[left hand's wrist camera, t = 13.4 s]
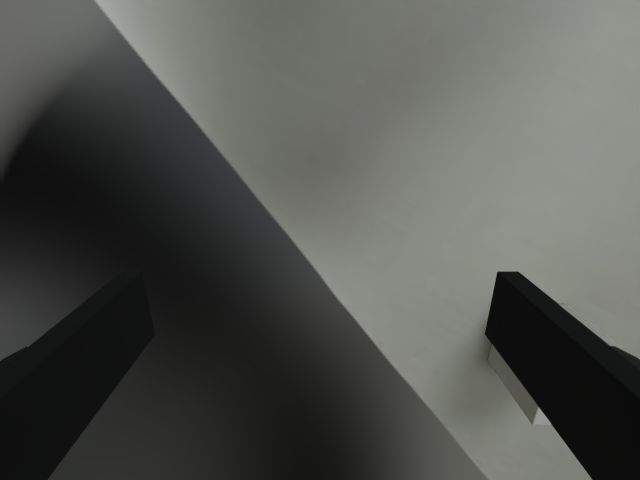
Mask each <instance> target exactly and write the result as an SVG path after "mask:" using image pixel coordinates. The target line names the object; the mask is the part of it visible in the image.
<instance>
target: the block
mask: <svg viewBox="0 0 640 480" xmlns="http://www.w3.org/2000/svg"><path fill="white" fill-rule="evenodd" d="M559 305H560V306H561V307H563V308H564V309H565V310H566V311H568V312H569V313H570V314H571V315H573V316H574V317H575V318H576V319H578V320H579V321H580V322H581V323H582V324H584V325H585V326H586V327H587V328H589V329H590V330H591V331H592V332H594V333H595V334H596V335H597V336H599V337H600V338H601V339H602V340H604V341H605V342H606V343H607V344H608V345H610V346H616V347H618V348H620V349H621V350H623V351H625V352H627V353H629V352H628V351H626V350H625V349H624V348H622V347H621V346H620V345H618V344H617V343H616V342H614V341H613V340H612V339H610V338H609V337H608V336H607V335H605V334H604V333H603V332H601V331H600V330H599V329H597V328H596V327H595V326H593V325H592V324H591V323H589V322H588V321H587V320H585V319H584V318H583V317H581V316H580V315H579V314H577V313H576V312H575V311H573V310H572V309H571V308H570V307H568V306H567V305H565V304H559ZM629 354H630V353H629ZM631 355H632V354H631ZM488 362H489V363H490V365H491V366H492V368H493V369H494V371H495V372H496V373H497V375H498V376H499V378H500V379H501V381H502V382H503V383H504V385H505V386H506V388H507V389H508V391H509V392H510V394H511V395H512V396H513V398H514V399H515V401H516V402H517V404H518V405H519V406H520V408H521V409H522V411H523V412H524V414H525V415H526V416H527V418H528V419H529V421H530V422H531V424H532V425H551V426H552V424H551V423H550V422H549V420H548V419H547V417H546V416H545V415H544V413H543V412H542V411H541V409H540V408H539V407H538V405H537V404H536V403H535V401H534V400H533V399H532V397H531V396H530V395H529V393H528V392H527V390H526V389H525V388H524V386H523V385H522V384H521V382H520V381H519V380H518V378H517V377H516V376H515V374H514V373H513V372H512V370H511V369H510V368H509V366H508V365H507V363H506V362H505V361H504V359H503V358H502V357H501V355H500V354H499V353H498V351H497V350H496V349H495V347H494V346H493V345H491V349H490V353H489V357H488Z"/></svg>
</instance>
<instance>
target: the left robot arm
mask: <svg viewBox="0 0 640 480" xmlns="http://www.w3.org/2000/svg"><path fill="white" fill-rule="evenodd" d="M154 335H155V331H154V326H153V321H152V316H151V311H150V306H149V301H148V296H147V292H146V287H145V282H144V277H143V272H121V273H120V274H118V275H117V276H116V277H115V278H113V279H112V280H111V281H110V282H108V283H107V284H106V285H105V286H103V287H102V288H101V289H100V290H98V291H97V292H96V293H95V294H93V295H92V296H91V297H90V298H89V299H87V300H86V301H85V302H84V303H82V304H81V305H80V306H79V307H77V308H76V309H75V310H74V311H72V312H71V313H70V314H69V315H68V316H66V317H65V318H64V319H63V320H61V321H60V322H59V323H58V324H56V325H55V326H54V327H53V328H51V329H50V330H49V331H48V332H46V333H45V334H44V335H43V336H41V337H40V338H39V339H38V340H36V341H35V342H34V343H33V344H32V345H30V346H29V347H25V348H23V349H21V350H20V351H18V352H16V353H14V354H12V355H10V356H8V357H6V358H4V359H3V360H1V361H0V480H48V478H49V477H50V475H51V474H52V473H53V471H54V470H55V469H56V467H57V466H58V465H59V463H60V462H61V461H62V459H63V458H64V457H65V455H66V454H67V453H68V451H69V450H70V449H71V447H72V446H73V444H74V443H75V442H76V440H77V439H78V438H79V436H80V435H81V434H82V432H83V431H84V430H85V428H86V427H87V426H88V424H89V423H90V422H91V420H92V419H93V417H94V416H95V415H96V413H97V412H98V411H99V409H100V408H101V407H102V405H103V404H104V403H105V401H106V400H107V398H108V397H109V396H110V394H111V393H112V392H113V390H114V389H115V388H116V386H117V385H118V384H119V382H120V381H121V380H122V378H123V377H124V376H125V374H126V373H127V372H128V370H129V369H130V368H131V366H132V365H133V363H134V362H135V361H136V359H137V358H138V357H139V355H140V354H141V353H142V351H143V350H144V349H145V347H146V346H147V344H148V343H149V342H150V340H151V339H152V338H153V336H154ZM485 335H486V336H487V338H488V339H489V341H490V342H491V343H492V345H493V346H494V347H495V349H496V350H497V351H498V353H499V354H500V355H501V357H502V358H503V359H504V361H505V362H506V363H507V365H508V366H509V368H510V369H511V370H512V372H513V373H514V374H515V376H516V377H517V378H518V380H519V381H520V382H521V384H522V385H523V386H524V388H525V389H526V390H527V392H528V393H529V395H530V396H531V397H532V399H533V400H534V401H535V403H536V404H537V405H538V407H539V408H540V409H541V411H542V412H543V413H544V415H545V416H546V417H547V419H548V420H549V422H550V423H551V424H552V426H553V427H554V428H555V430H556V431H557V432H558V434H559V435H560V436H561V438H562V439H563V440H564V442H565V443H566V444H567V446H568V447H569V449H570V450H571V451H572V453H573V454H574V455H575V457H576V458H577V459H578V461H579V462H580V463H581V465H582V466H583V467H584V469H585V470H586V471H587V473H588V474H589V475H590V477H591V478H592V480H640V360H639V359H638V358H637V357H635V356H633V355H631V354H629V353H627V352H625V351H623V350H621V349H620V348H618V347H616V346H610V345H608V344H607V343H606V342H605V341H604V340H602V339H601V338H600V337H599V336H597V335H596V334H595V333H594V332H592V331H591V330H590V329H589V328H587V327H586V326H585V325H584V324H582V323H581V322H580V321H579V320H578V319H576V318H575V317H574V316H573V315H571V314H570V313H569V312H568V311H566V310H565V309H564V308H563V307H561V306H560V305H559V304H558V303H556V302H555V301H554V300H553V299H551V298H550V297H549V296H548V295H547V294H545V293H544V292H543V291H542V290H540V289H539V288H538V287H537V286H535V285H534V284H533V283H532V282H530V281H529V280H528V279H527V278H525V277H524V276H523V275H522V274H520V273H519V272H497V277H496V282H495V287H494V291H493V296H492V301H491V306H490V311H489V316H488V321H487V326H486V331H485Z"/></svg>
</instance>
